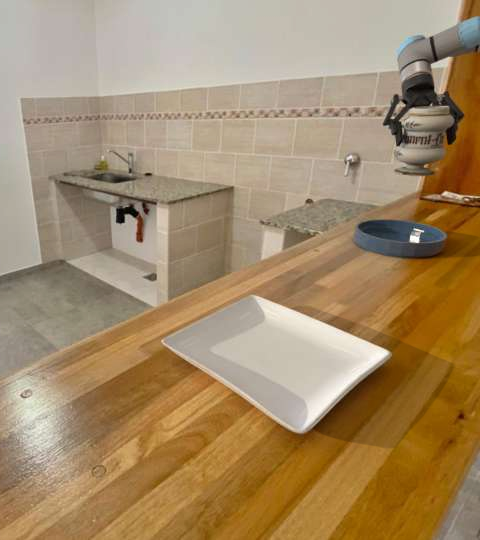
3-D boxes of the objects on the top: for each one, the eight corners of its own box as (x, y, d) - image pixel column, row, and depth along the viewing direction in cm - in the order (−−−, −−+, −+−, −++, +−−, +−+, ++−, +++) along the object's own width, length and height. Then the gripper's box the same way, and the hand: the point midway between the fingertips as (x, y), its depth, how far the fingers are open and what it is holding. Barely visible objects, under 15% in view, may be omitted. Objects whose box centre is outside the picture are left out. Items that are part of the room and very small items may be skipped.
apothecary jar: (383, 174, 113) (398, 108, 105) (396, 168, 120) (411, 105, 112) (433, 178, 104) (453, 107, 97) (444, 171, 111) (464, 104, 104)
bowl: (439, 238, 113) (444, 224, 111) (444, 264, 97) (449, 248, 95) (356, 229, 124) (359, 216, 123) (348, 251, 109) (351, 236, 107)
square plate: (299, 455, 49) (303, 433, 48) (158, 356, 70) (158, 338, 68) (390, 368, 63) (396, 348, 62) (251, 306, 84) (252, 291, 82)
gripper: (457, 89, 114) (469, 149, 106) (366, 94, 120) (371, 152, 113) (473, 68, 107) (486, 131, 100) (375, 75, 113) (381, 135, 106)
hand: (425, 142), depth 106 cm, fingers closed on apothecary jar, 12 cm apart
